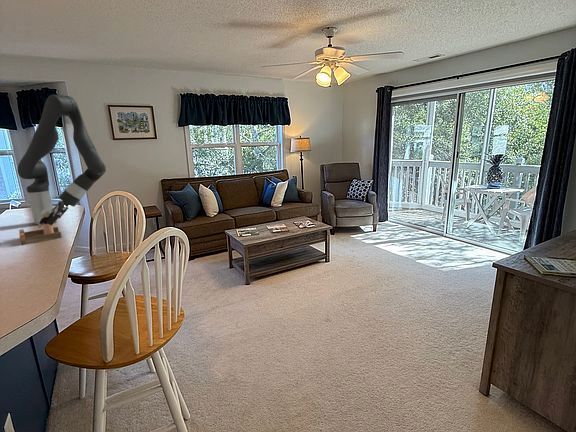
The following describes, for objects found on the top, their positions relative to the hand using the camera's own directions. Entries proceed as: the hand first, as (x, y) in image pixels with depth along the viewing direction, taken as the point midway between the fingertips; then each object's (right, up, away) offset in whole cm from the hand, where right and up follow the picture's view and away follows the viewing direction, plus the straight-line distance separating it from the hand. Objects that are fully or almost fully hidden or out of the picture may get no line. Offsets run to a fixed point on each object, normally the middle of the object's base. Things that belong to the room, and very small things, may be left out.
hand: (48, 222), depth 142 cm
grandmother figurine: (0, -7, +2) cm, 7 cm away
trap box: (-3, -7, -1) cm, 8 cm away
